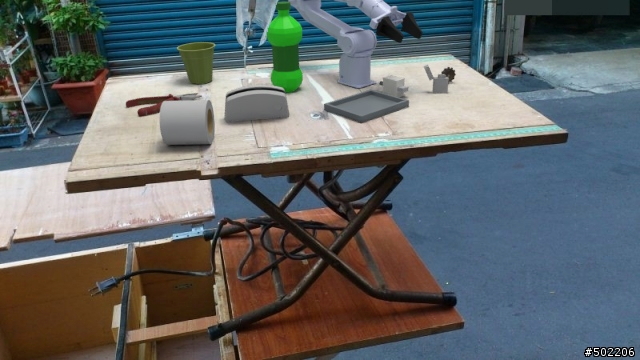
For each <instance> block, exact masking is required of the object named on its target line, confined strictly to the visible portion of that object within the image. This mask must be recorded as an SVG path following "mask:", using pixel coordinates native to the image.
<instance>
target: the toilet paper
mask: <svg viewBox="0 0 640 360" xmlns="http://www.w3.org/2000/svg"><path fill="white" fill-rule="evenodd" d="M215 122H216V121H215V112H214V107H213V104H212V101H211V100H210V99H196V100H195V99H193V100H186V101H164V102H163V103H162V105H161V108H160V112H159V130H160V135H161V136H160V137H161V139H162V141H163V143H164V144H165V145H166V146H182V145H183V146H185V145H188V146H189V145H212V144H213V143H214V139H215V130H216V129H215V125H216V123H215Z"/></svg>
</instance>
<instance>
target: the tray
mask: <svg viewBox="0 0 640 360" xmlns="http://www.w3.org/2000/svg"><path fill="white" fill-rule="evenodd" d="M409 106H410V100H409V99H406V98H403V97H396V96H392V95H389V94H385V93H383V91H382V92H381V91H378V90H375V89H369V90H365V91H362V92H358V93H355V94H352V95H351V94H350V95H349V96H345V97H342V98H339V99H336V100H331V101H328V102H325V103H323V111H325V112H327V113H331V114H334V115H335V116H336V115H337V116H338V117H339V116H340V117H341V118H346V119H348V120H351V121H354V122H357V123H360V124H364V123H366V122H370V121H372V120H375V119H377V118H380V117H384V116H386V115H389V114H392V113H394V112H395V113H396V112H398V111H400V110H403V109H406V108H409Z"/></svg>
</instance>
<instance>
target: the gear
mask: <svg viewBox="0 0 640 360" xmlns="http://www.w3.org/2000/svg"><path fill="white" fill-rule="evenodd" d="M455 72H456V70H455V69H454V68H453V67H450V66H447V68H443V70H441V73H440V74H444V75H446V77H448V78H449V81H448V84H449V83H452V82H453V80H455V76H457V73H455Z"/></svg>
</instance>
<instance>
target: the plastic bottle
mask: <svg viewBox="0 0 640 360" xmlns="http://www.w3.org/2000/svg"><path fill="white" fill-rule="evenodd" d="M291 6H292V5H291V4H290V2H288V1H283V0H282V1H277V5H276V4H275V10H276V11H277V16H275V18H273V20H272V21H271V22H270V23H269V24H270V26H269V28H268V27H267V29H268V32H267V31H266V38H267V41H268V43H269V44H270V45H271V53H272V65H273V66H272V71H271V74H270V81H271V84H272V86H277V87H282V88H283V89H284V90H285V92H286V93H292V92H295V91H296V90H297V89H298V88H299V87H300V86H301V85H302V83H303V80H304V79H303V78H304V77H303V76H304V75H303V74H304V73H303V71H302V69H301V67H300V52H299V49H300V48H299V44H300V43H301V41H302V40H303V39H302V38H303V27H302V25H301V23H300V22H299V21H297V20H296V19H295V18H294V17H293V16H291V15H290V10H291V8H292V7H291Z"/></svg>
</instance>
